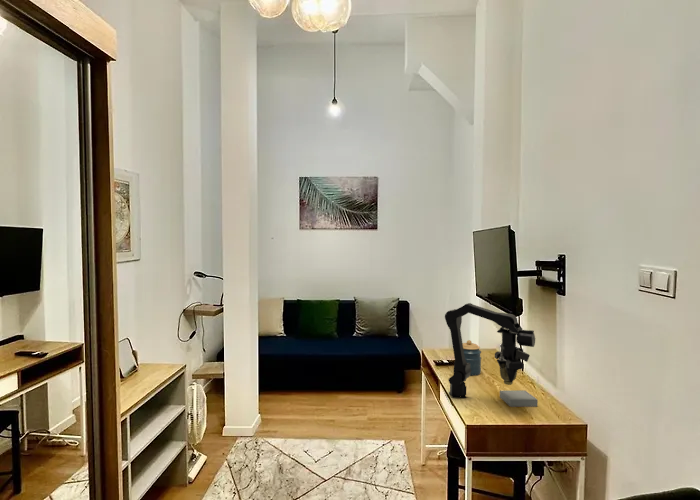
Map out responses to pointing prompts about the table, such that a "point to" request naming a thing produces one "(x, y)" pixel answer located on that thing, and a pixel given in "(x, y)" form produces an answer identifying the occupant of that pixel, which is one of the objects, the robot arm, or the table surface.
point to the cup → (505, 375)
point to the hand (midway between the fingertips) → (508, 379)
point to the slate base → (518, 398)
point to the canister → (472, 357)
